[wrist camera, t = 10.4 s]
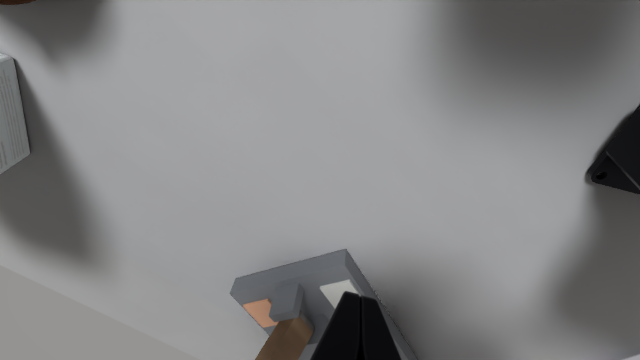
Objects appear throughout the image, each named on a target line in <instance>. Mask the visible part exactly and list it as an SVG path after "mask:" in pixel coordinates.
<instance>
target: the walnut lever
mask: <svg viewBox="0 0 640 360" xmlns="http://www.w3.org/2000/svg"><path fill="white" fill-rule="evenodd" d="M313 332H314V325H313V324H312V323H311V322H310V321H309V319H308V318H307V317H306V316H305V314H304V313H303V312H302V311H301V310H300V312H299V317H298V318H293V319H288V320H283V321H279V322H278V324H277V325H276V327H275V329H274V330H273V332H272V333H271V335H270V337H269V338H268V340H267V341H266V343H265V344H264V346H263V348H262V349H261V351H260V352H259V354H258V356H257V357H256V359H255V360H298V359H299V357H300V355H301V353H302V352H303V350H304V348H305V346H306V344H307V343H308V341H309V339H310V337H311V336H312V334H313Z"/></svg>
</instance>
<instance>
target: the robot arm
mask: <svg viewBox="0 0 640 360" xmlns="http://www.w3.org/2000/svg"><path fill="white" fill-rule="evenodd" d="M600 172H603V173H602V174H600V175H597V174H598V173H600ZM588 176H589V178H590V179H591V180H592V181H593V182H595V183H598V184H602V185H605V186H609V187H613V188H617V189H621V190H625V191H629V192H633V193H637V194H640V107H639V108H638V109H637V111H636V112H635V113H634V114H633V116H632V117H631V118H630V119H629V121H628V122H627V123H626V124H625V126H624V127H623V128H622V129H621V131H620V132H619V133H618V134H617V135H616V137H615V138H614V139H613V140H612V142H611V143H610V144H609V145H608V147H607V148H606V149H605V151H604V152H603V153H602V154H601V156H600V157H599V158H598V159H597V161H596V162H595V163H594V164H593V165H592V167H591V168H590V169H589V171H588ZM310 360H402V359H401V357H400V354H399V352H398V349H397V347H396V344H395V342H394V340H393V337H392V335H391V332H390V330H389V328H388V325H387V323H386V320H385V318H384V315H383V313H382V311H381V308H380V306H379V303H378V301H377V300H376V299H375V298H373V297H369V296H365V295H361V296H359V294H357V293H353V292H349V291H345V292H344V293H343V294H342V296H341V298H340V300H339V302H338V304H337V306H336V308H335V310H334V312H333V314H332V316H331V318H330V320H329V322H328V324H327V326H326V328H325V330H324V332H323V334H322V336H321V338H320V340H319V342H318V344H317V346H316V348H315V350H314V352H313V354H312V356H311V358H310Z"/></svg>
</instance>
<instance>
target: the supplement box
mask: <svg viewBox="0 0 640 360" xmlns="http://www.w3.org/2000/svg"><path fill="white" fill-rule="evenodd" d="M28 155H30V149H29V143H28V137H27V131H26V125H25V119H24V114H23V107H22V101H21V96H20V90H19V85H18V80H17V73H16V68H15V64H14V60H13V58H11V57H9V56H7V55H4V54H0V174H2V173H3V172H5V171H6V170H8V169H9V168H11V167H12V166H13V165H15V164H16V163H18V162H19V161H21V160H22V159H24V158H25V157H27V156H28Z"/></svg>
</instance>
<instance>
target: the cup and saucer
mask: <svg viewBox="0 0 640 360" xmlns="http://www.w3.org/2000/svg"><path fill="white" fill-rule="evenodd" d="M32 1H35V0H0V4H2V5H17V4H24V3H29V2H32Z"/></svg>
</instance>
